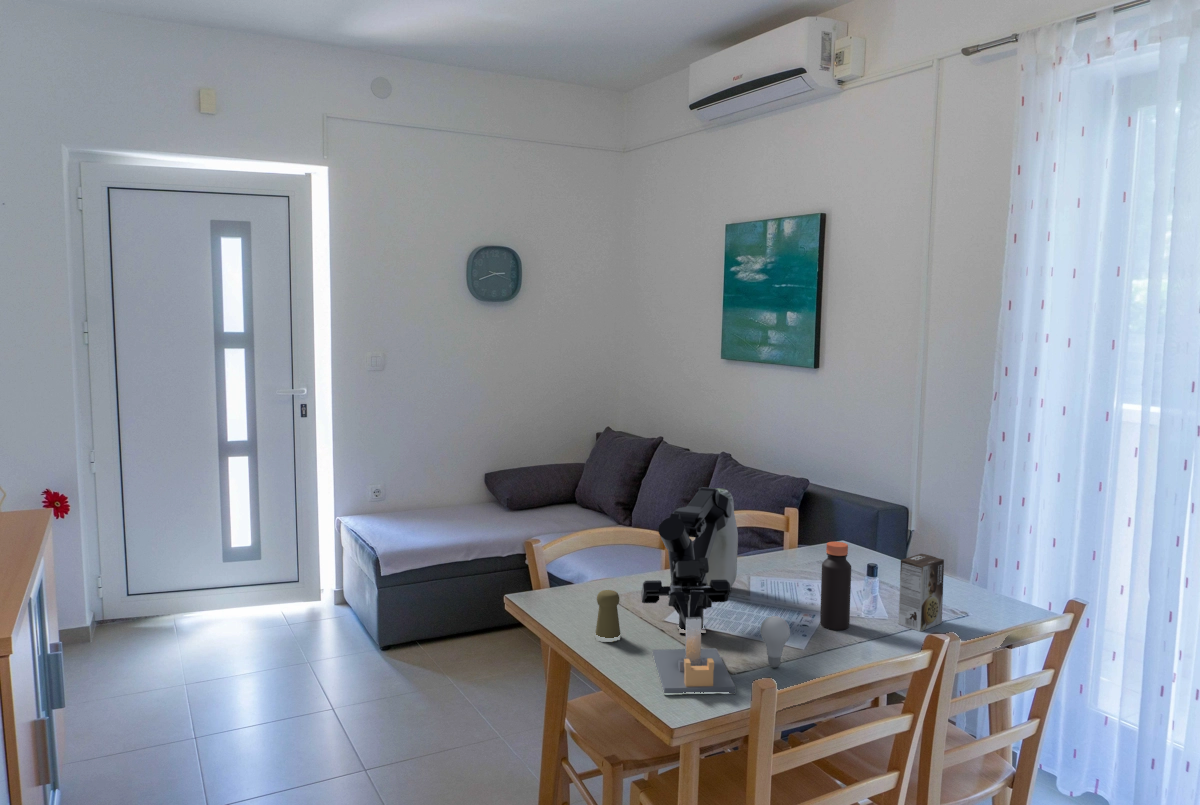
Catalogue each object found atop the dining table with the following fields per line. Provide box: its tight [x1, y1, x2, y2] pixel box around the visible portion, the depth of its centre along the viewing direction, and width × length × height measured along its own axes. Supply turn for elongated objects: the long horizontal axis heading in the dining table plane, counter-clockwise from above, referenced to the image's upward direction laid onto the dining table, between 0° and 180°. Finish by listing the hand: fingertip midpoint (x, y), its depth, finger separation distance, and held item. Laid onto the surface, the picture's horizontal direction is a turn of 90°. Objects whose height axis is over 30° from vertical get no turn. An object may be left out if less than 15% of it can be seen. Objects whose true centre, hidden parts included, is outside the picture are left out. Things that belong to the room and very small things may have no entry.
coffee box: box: [898, 553, 945, 632], centre depth 199 cm, size 9×6×16 cm
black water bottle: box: [819, 541, 852, 631], centre depth 198 cm, size 7×7×20 cm
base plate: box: [652, 647, 736, 694], centre depth 171 cm, size 19×14×6 cm
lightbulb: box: [759, 615, 791, 668], centre depth 174 cm, size 6×6×11 cm
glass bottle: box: [706, 487, 739, 589], centre depth 223 cm, size 10×10×28 cm
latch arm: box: [684, 617, 702, 666], centre depth 169 cm, size 10×3×1 cm
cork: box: [595, 589, 621, 638], centre depth 190 cm, size 6×6×11 cm
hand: (689, 628), depth 173 cm, fingers closed
